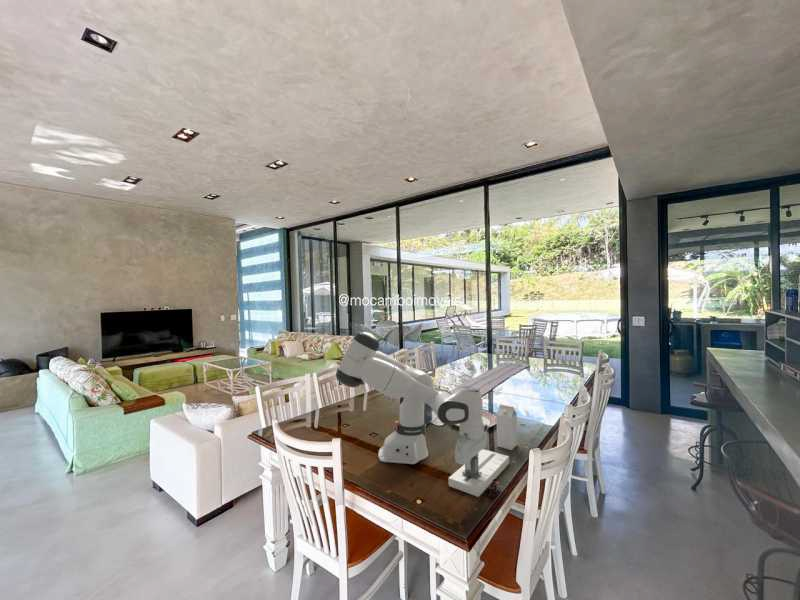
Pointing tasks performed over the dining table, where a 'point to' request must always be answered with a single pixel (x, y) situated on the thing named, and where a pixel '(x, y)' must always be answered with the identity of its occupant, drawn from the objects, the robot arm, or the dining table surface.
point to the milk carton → (506, 427)
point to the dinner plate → (487, 419)
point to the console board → (490, 469)
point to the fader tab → (473, 468)
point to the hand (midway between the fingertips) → (471, 466)
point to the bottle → (427, 406)
